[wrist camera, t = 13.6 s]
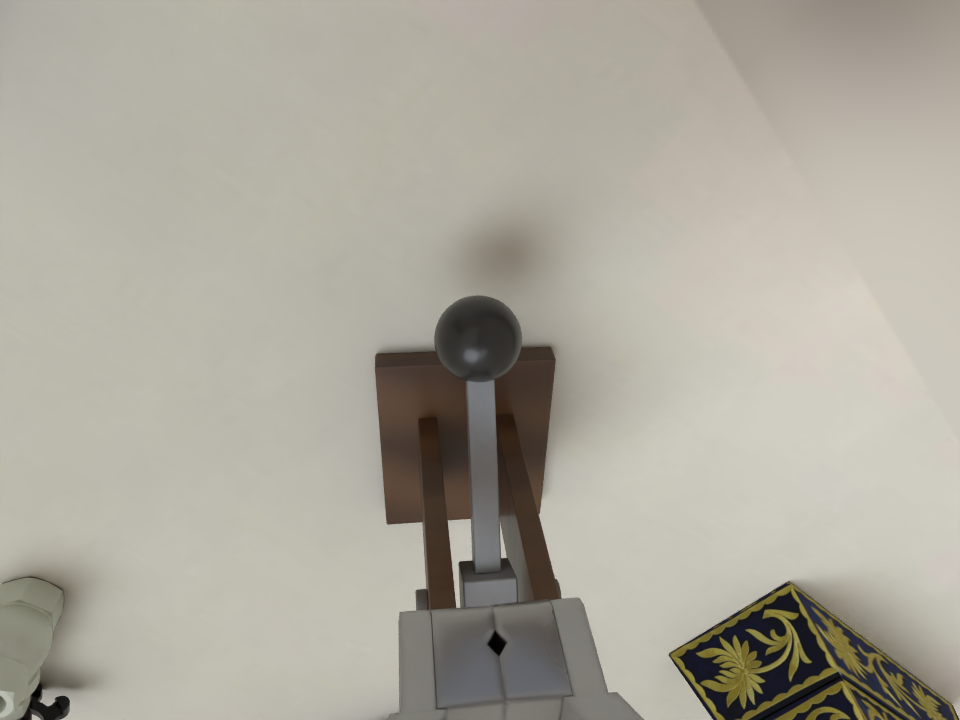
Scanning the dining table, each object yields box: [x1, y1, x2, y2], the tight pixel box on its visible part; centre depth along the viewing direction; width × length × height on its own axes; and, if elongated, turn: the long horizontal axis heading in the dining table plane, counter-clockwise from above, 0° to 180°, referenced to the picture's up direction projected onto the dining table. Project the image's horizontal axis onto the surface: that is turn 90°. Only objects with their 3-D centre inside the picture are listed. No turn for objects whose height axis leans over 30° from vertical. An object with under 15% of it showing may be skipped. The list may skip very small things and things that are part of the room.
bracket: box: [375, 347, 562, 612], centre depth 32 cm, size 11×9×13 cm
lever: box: [434, 295, 522, 608], centre depth 28 cm, size 14×4×4 cm
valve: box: [0, 578, 70, 720], centre depth 40 cm, size 7×7×12 cm
